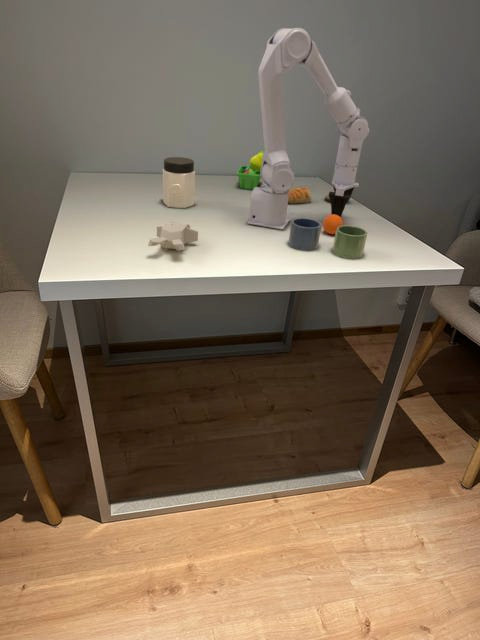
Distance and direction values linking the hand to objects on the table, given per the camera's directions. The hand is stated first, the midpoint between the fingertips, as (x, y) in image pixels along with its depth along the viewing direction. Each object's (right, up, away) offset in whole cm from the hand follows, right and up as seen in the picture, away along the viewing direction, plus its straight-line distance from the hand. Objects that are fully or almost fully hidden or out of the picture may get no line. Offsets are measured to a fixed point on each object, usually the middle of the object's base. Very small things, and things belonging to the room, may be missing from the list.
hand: (337, 215), depth 128 cm
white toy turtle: (-41, -12, -23) cm, 49 cm away
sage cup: (-1, -13, -18) cm, 22 cm away
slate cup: (-11, -11, -16) cm, 22 cm away
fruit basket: (-23, +16, +27) cm, 39 cm away
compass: (+4, +8, +18) cm, 20 cm away
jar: (-44, +4, +5) cm, 45 cm away
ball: (-3, -4, -9) cm, 10 cm away
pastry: (-9, +8, +16) cm, 20 cm away
